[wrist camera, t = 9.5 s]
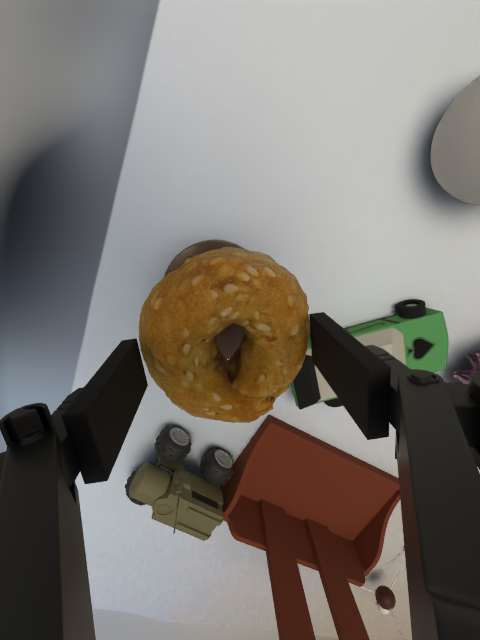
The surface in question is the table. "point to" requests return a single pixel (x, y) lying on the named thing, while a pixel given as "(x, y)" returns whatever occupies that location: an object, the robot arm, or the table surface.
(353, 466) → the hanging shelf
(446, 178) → the decorative egg
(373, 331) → the toy car
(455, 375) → the flower
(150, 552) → the table surface
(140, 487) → the toy vehicle
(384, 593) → the molecular model
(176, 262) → the pedestal
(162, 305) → the bagel
